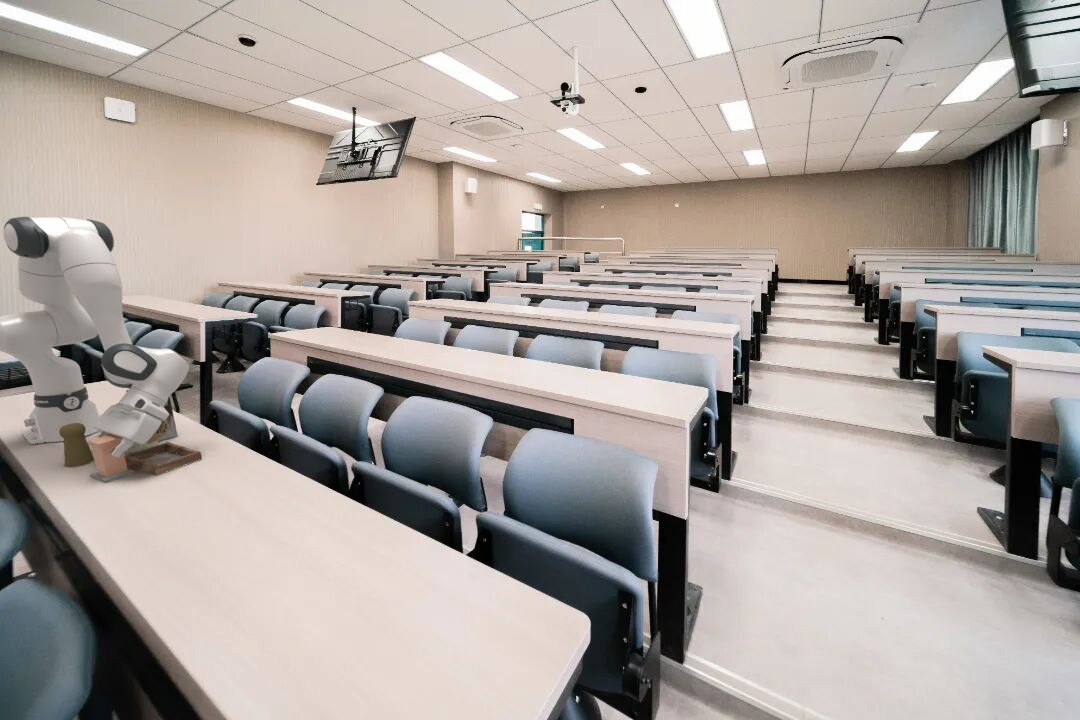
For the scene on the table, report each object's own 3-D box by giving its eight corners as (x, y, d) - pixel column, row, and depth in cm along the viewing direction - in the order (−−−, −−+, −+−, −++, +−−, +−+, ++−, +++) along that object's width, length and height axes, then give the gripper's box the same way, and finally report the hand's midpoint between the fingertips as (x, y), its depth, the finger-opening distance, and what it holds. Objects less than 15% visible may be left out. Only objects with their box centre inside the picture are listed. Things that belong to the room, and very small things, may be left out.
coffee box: (171, 431, 158) (162, 383, 154) (178, 436, 154) (169, 386, 151) (135, 440, 151) (125, 389, 148) (141, 445, 147) (131, 393, 144)
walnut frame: (124, 463, 135) (123, 456, 135) (168, 449, 145) (167, 441, 144) (157, 475, 128) (155, 467, 128) (201, 459, 138) (200, 451, 137)
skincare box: (139, 453, 141) (130, 413, 139) (127, 452, 142) (118, 412, 140) (160, 445, 148) (153, 406, 145) (148, 443, 149) (141, 404, 146)
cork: (63, 462, 136) (54, 424, 133) (93, 456, 140) (84, 419, 138) (65, 469, 132) (56, 430, 129) (95, 462, 136) (87, 424, 134)
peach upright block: (95, 474, 128) (87, 440, 125) (119, 466, 132) (112, 433, 130) (105, 478, 125) (98, 444, 123) (129, 470, 130) (123, 437, 128)
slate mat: (90, 476, 128) (89, 474, 128) (117, 467, 133) (117, 465, 133) (106, 482, 124) (105, 480, 124) (133, 473, 129) (133, 470, 129)
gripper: (109, 394, 135) (71, 440, 129) (150, 404, 126) (112, 454, 120) (131, 405, 140) (96, 450, 134) (173, 416, 131) (137, 464, 125)
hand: (104, 452), depth 127 cm, fingers open, 8 cm apart
